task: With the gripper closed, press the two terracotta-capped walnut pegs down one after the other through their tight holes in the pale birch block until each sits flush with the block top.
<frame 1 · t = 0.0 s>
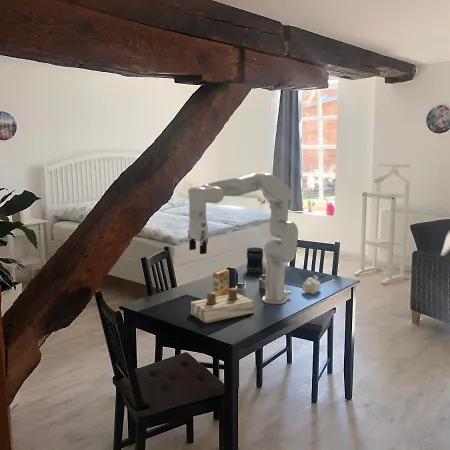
hand: (197, 251, 236), 31 cm above the table, fingers open, 9 cm apart
storage jar: (254, 273, 316), on the table
cream lumpy bulb: (311, 293, 278), on the table
peg 1: (211, 299, 241), point 8 cm above the table, slide at 5.0 cm
candy box: (221, 300, 265), on the table
peg 2: (232, 294, 247), point 8 cm above the table, slide at 5.0 cm
birch block: (222, 313, 246), on the table
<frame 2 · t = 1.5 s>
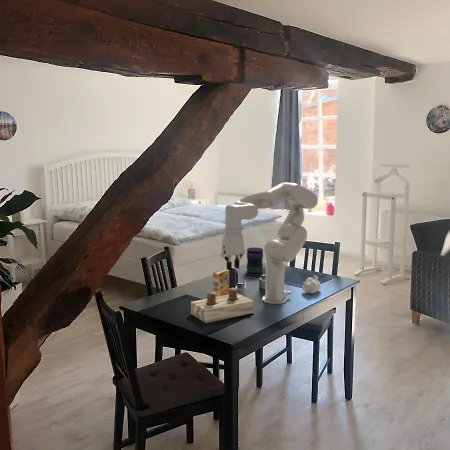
hand: (232, 268, 245), 21 cm above the table, fingers open, 3 cm apart
nothing on the table moved.
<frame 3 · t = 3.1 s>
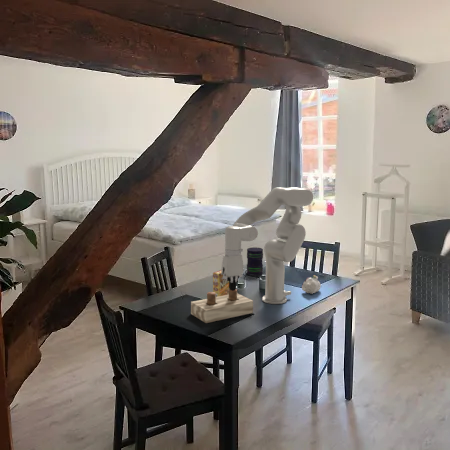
hand: (232, 289, 247), 11 cm above the table, fingers closed
peg 2: (232, 295, 248), point 8 cm above the table, slide at 4.7 cm, touching gripper
everything else where it was.
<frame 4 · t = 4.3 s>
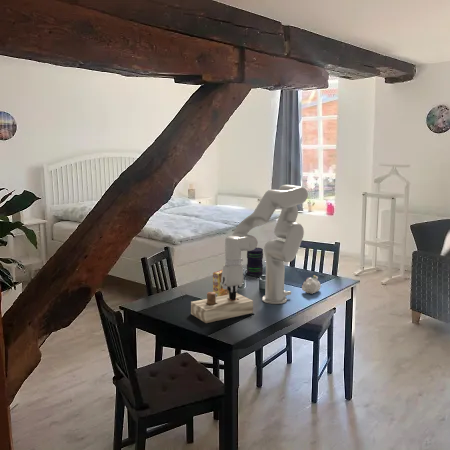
hand: (232, 299, 248), 6 cm above the table, fingers closed
peg 2: (232, 304, 248), point 3 cm above the table, slide at 0.0 cm, touching gripper
everything else where it was.
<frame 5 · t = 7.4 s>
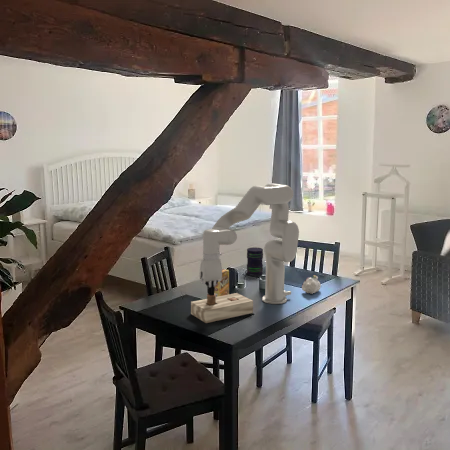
hand: (210, 294, 241), 10 cm above the table, fingers closed
peg 1: (211, 300, 241), point 7 cm above the table, slide at 4.3 cm, touching gripper
peg 2: (232, 304, 248), point 3 cm above the table, slide at 0.0 cm
everything else where it was.
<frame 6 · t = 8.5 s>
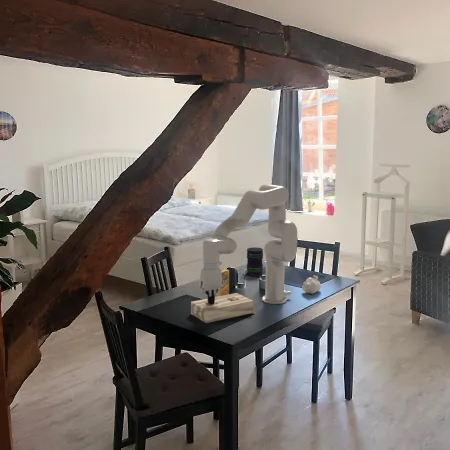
hand: (211, 303, 241), 6 cm above the table, fingers closed
peg 1: (211, 309, 242), point 3 cm above the table, slide at 0.0 cm, touching gripper
everything else where it was.
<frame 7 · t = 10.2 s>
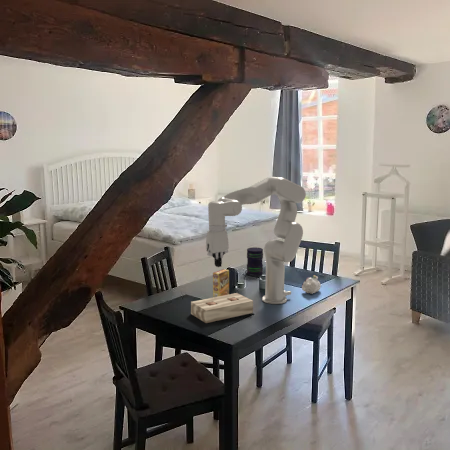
hand: (218, 266, 242), 23 cm above the table, fingers closed
peg 1: (211, 309, 242), point 3 cm above the table, slide at 0.0 cm
everything else where it was.
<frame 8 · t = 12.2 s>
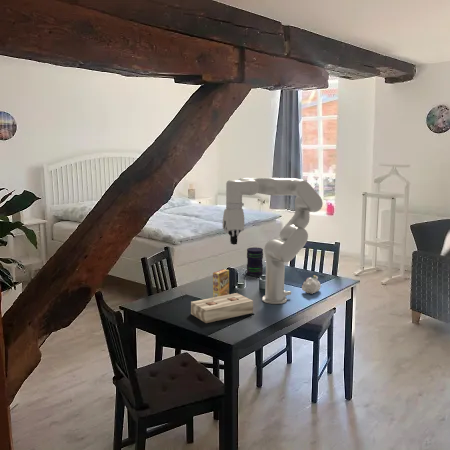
hand: (233, 243, 248), 32 cm above the table, fingers closed
nothing on the table moved.
at the end: peg 2 slide at 0.0 cm; peg 1 slide at 0.0 cm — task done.
